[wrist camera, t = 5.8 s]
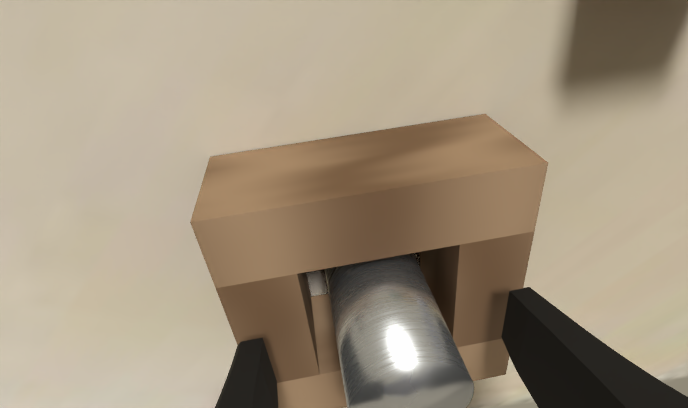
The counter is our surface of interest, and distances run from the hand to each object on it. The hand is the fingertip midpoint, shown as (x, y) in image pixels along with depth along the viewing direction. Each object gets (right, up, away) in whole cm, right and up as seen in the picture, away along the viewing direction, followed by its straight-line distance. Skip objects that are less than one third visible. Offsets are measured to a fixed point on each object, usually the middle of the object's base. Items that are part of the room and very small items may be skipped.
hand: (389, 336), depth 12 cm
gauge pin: (-1, +2, +4) cm, 4 cm away
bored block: (-1, +2, +4) cm, 4 cm away
